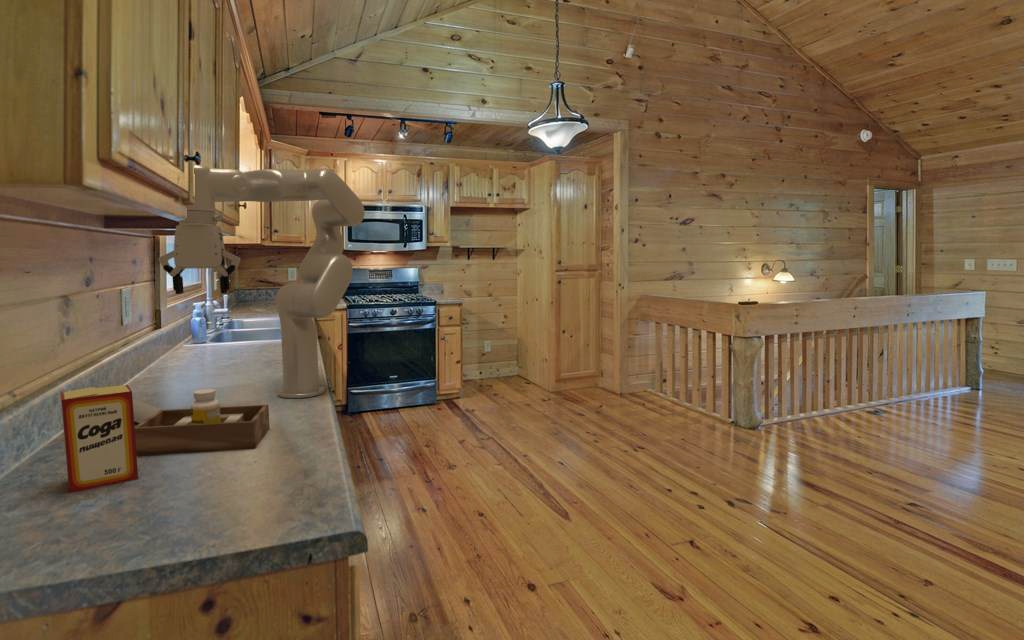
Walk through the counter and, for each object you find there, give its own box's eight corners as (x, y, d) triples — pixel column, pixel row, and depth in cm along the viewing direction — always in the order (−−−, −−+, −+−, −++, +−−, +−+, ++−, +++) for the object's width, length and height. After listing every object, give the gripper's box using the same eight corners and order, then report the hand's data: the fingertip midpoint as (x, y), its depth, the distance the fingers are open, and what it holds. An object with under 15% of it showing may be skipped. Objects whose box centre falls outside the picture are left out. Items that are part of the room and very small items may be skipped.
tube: (179, 410, 129) (133, 394, 143) (154, 408, 124) (110, 391, 139) (172, 434, 128) (127, 415, 142) (147, 432, 124) (103, 413, 138)
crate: (162, 434, 123) (160, 410, 123) (269, 428, 128) (268, 404, 127) (133, 456, 110) (131, 428, 109) (255, 448, 114) (253, 422, 114)
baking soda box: (133, 468, 103) (127, 382, 102) (138, 478, 98) (131, 388, 97) (67, 481, 97) (60, 390, 96) (69, 492, 92) (61, 397, 91)
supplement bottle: (187, 437, 118) (184, 391, 117) (212, 431, 122) (209, 386, 121) (201, 442, 115) (198, 395, 114) (226, 435, 120) (224, 389, 119)
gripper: (241, 221, 136) (245, 292, 138) (162, 220, 133) (167, 293, 135) (233, 219, 129) (237, 293, 131) (149, 218, 125) (155, 294, 127)
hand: (202, 293), depth 133 cm, fingers open, 9 cm apart
